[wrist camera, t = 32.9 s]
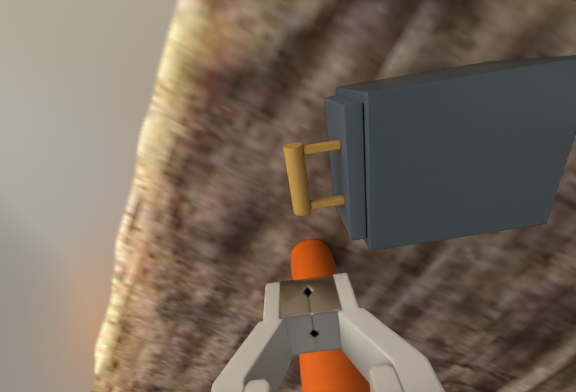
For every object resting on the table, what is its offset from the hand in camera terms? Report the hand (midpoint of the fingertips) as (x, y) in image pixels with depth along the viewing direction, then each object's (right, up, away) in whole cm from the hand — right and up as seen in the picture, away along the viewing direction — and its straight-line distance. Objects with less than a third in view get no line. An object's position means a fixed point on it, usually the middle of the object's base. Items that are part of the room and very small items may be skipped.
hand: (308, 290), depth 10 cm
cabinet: (+11, +9, +15) cm, 21 cm away
